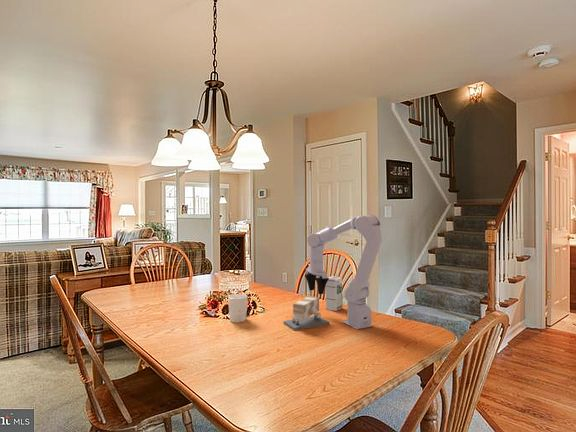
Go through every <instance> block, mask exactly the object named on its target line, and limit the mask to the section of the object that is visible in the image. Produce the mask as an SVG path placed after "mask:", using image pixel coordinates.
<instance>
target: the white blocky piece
mask: <svg viewBox="0 0 576 432" xmlns="http://www.w3.org/2000/svg"><path fill="white" fill-rule="evenodd" d="M292 311H293V312H292V315H293V318H296V319H302V320H304V319H306V318H307V317H312V315H314V313H316V312H320V297H318V296H311V295H309V296H307V297H304V298H303V299H300V300H298V301H297V302H295V303H293V304H292Z"/></svg>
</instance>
